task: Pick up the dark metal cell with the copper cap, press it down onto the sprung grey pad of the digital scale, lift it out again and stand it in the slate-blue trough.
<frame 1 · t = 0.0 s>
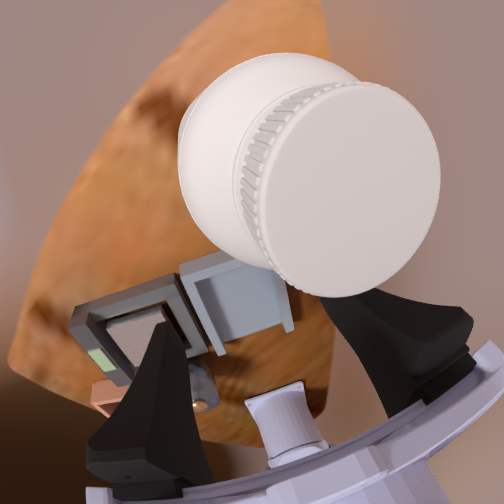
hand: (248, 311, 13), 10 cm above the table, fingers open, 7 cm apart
pill bottle: (234, 136, 19), on the table
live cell: (191, 360, 28), on the table
digital scale: (141, 326, 24), on the table
trough: (239, 294, 25), on the table
pink square tube: (132, 393, 28), on the table
pad: (146, 338, 22), point 2 cm above the table, slide at -0.1 cm
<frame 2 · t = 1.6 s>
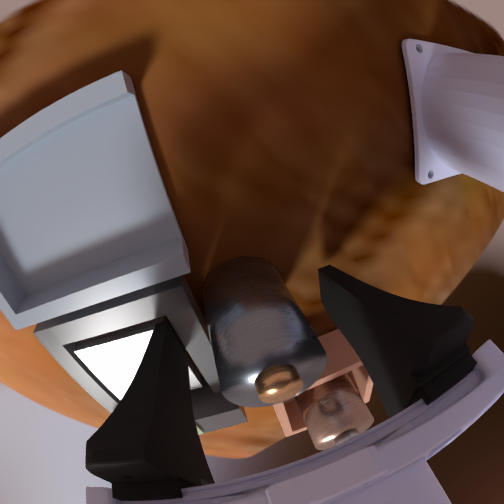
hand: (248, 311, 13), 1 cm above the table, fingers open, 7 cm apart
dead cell: (314, 374, 19), resting on pink square tube
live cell: (242, 291, 14), on the table
digital scale: (145, 358, 15), on the table
trough: (57, 209, 10), on the table
pink square tube: (312, 369, 19), on the table
pad: (140, 365, 13), point 1 cm above the table, slide at -1.0 cm, touching gripper
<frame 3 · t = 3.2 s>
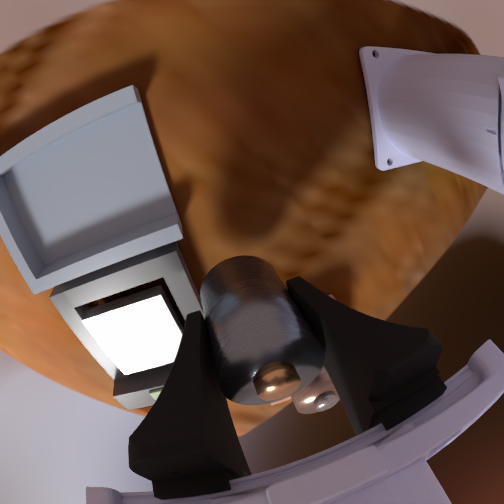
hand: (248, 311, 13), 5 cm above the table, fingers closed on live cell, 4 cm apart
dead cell: (295, 344, 21), resting on pink square tube
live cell: (240, 290, 14), point 3 cm above the table, touching gripper
digital scale: (145, 324, 17), on the table
trough: (76, 191, 13), on the table
pad: (139, 334, 16), point 2 cm above the table, slide at -0.4 cm
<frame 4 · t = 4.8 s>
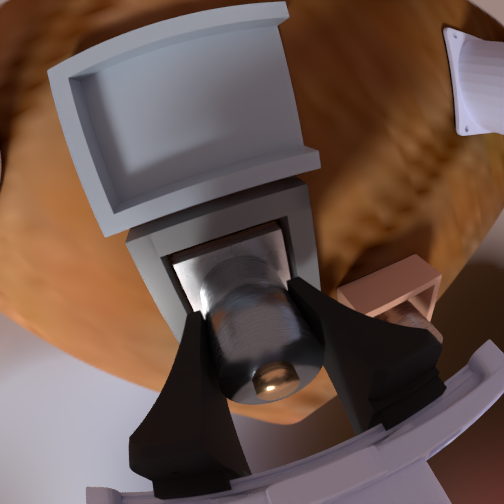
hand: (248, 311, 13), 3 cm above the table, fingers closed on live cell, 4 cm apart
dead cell: (380, 308, 20), resting on pink square tube
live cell: (240, 290, 14), point 1 cm above the table, touching gripper, pad
digital scale: (237, 283, 16), on the table
trough: (185, 108, 11), on the table
pink square tube: (377, 305, 20), on the table
pad: (238, 285, 15), point 1 cm above the table, slide at -1.0 cm, touching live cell
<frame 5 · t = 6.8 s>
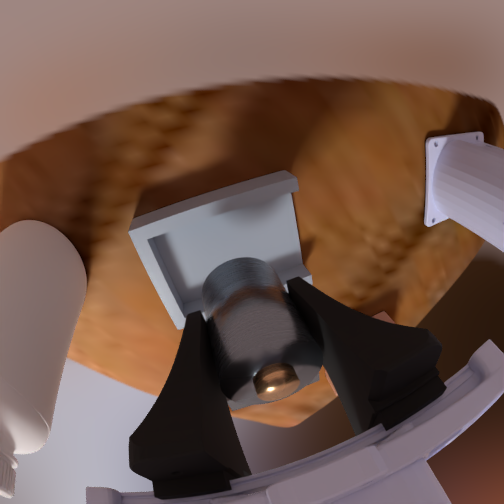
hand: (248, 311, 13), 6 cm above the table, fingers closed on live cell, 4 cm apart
pill bottle: (40, 268, 16), on the table
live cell: (240, 291, 14), point 5 cm above the table, touching gripper
trough: (225, 246, 18), on the table
when the fingers open (2 cm above the table, at t = 7.9 s): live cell stays where it is, resting on trough.
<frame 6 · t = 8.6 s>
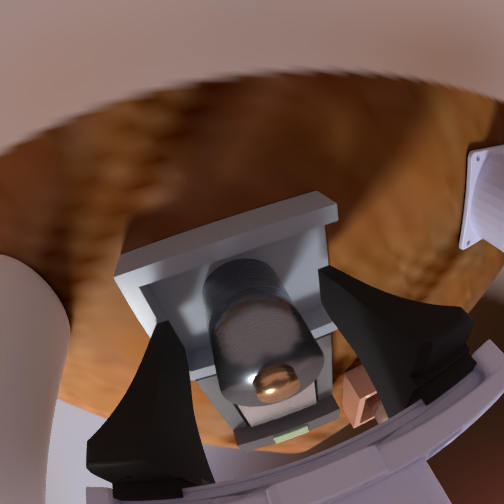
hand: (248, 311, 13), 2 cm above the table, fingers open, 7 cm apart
pill bottle: (16, 308, 12), on the table
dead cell: (376, 379, 23), resting on pink square tube
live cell: (241, 293, 14), resting on trough
digital scale: (271, 382, 19), on the table
trough: (239, 286, 14), on the table
pink square tube: (374, 376, 24), on the table
pad: (277, 396, 18), point 2 cm above the table, slide at -0.3 cm
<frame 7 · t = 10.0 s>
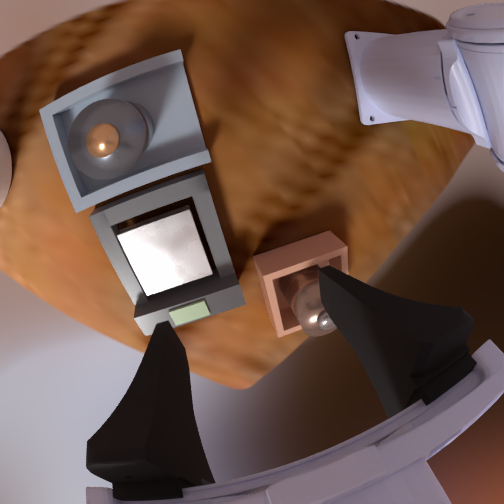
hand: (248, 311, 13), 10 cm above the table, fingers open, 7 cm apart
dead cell: (299, 278, 25), resting on pink square tube
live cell: (124, 131, 16), resting on trough
digital scale: (169, 248, 21), on the table
trough: (125, 129, 16), on the table
pink square tube: (298, 275, 25), on the table
pad: (166, 252, 19), point 2 cm above the table, slide at -0.3 cm
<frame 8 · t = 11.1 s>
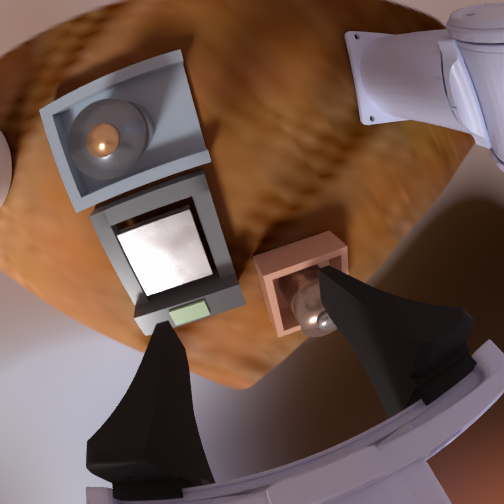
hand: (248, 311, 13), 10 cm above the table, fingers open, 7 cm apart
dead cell: (299, 278, 25), resting on pink square tube
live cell: (124, 131, 16), resting on trough
digital scale: (169, 248, 21), on the table
trough: (125, 129, 16), on the table
pink square tube: (298, 275, 25), on the table
pad: (166, 252, 19), point 2 cm above the table, slide at -0.3 cm
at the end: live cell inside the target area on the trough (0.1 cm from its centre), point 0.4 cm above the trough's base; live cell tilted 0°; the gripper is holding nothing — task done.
